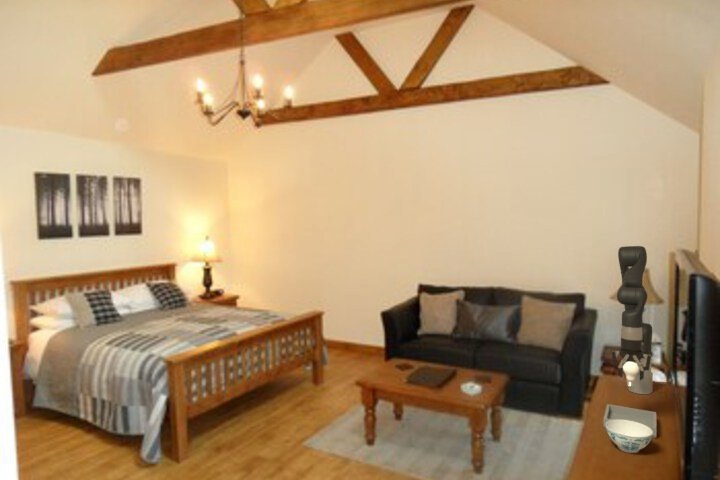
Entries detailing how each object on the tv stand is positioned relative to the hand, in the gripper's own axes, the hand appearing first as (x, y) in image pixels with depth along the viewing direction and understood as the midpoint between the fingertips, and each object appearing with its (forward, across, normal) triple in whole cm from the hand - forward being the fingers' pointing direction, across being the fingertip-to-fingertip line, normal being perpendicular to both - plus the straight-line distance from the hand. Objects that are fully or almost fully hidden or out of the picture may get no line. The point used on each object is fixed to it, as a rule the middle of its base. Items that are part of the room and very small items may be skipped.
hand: (630, 378), depth 198 cm
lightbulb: (+4, 0, 0) cm, 4 cm away
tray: (+19, 0, 0) cm, 19 cm away
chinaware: (+19, 0, +24) cm, 30 cm away
